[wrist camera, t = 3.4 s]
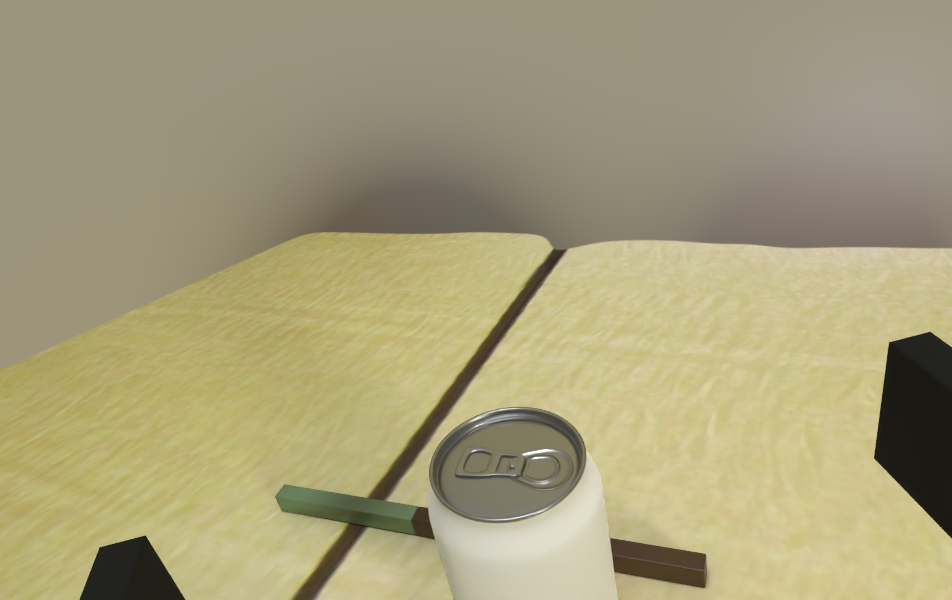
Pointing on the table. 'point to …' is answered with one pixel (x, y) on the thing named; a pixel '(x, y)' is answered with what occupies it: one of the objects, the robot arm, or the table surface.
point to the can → (520, 510)
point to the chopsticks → (417, 521)
